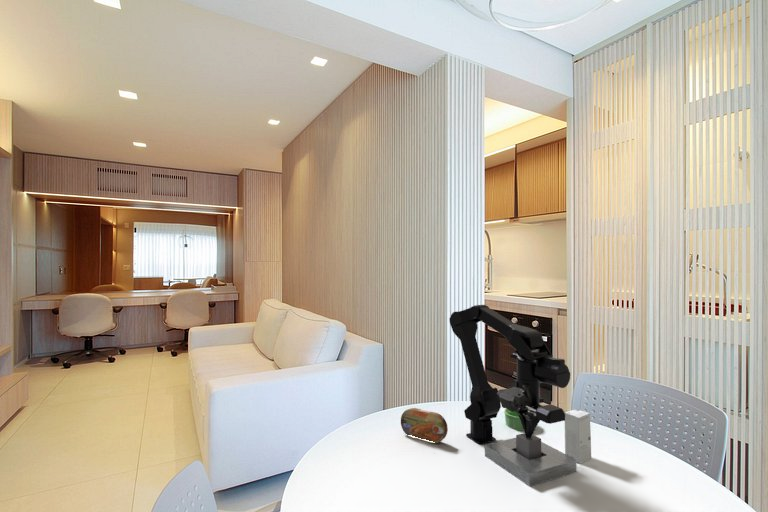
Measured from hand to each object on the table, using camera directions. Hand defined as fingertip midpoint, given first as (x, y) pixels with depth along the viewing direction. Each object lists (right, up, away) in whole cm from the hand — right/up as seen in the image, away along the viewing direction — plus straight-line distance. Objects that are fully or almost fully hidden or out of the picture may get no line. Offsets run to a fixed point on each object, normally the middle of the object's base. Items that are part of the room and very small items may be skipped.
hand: (528, 437), depth 99 cm
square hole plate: (0, -7, 0) cm, 7 cm away
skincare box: (+15, -7, +3) cm, 17 cm away
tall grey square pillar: (0, -7, 0) cm, 7 cm away
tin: (-26, -8, +14) cm, 31 cm away
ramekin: (+6, -8, +24) cm, 27 cm away
